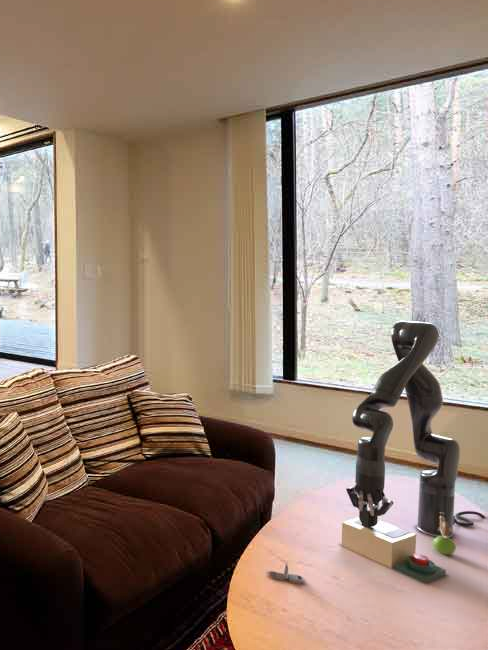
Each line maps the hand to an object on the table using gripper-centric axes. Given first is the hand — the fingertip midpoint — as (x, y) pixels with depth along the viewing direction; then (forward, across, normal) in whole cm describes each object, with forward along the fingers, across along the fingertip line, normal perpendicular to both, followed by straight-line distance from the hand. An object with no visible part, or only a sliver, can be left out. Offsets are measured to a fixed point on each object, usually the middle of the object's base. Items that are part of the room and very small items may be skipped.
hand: (367, 523), depth 171 cm
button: (+6, -14, -1) cm, 16 cm away
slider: (+1, 0, 0) cm, 1 cm away
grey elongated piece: (+9, 0, +37) cm, 38 cm away
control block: (+9, -14, -1) cm, 17 cm away
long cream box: (+9, -2, -2) cm, 9 cm away
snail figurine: (+9, -11, -20) cm, 25 cm away
